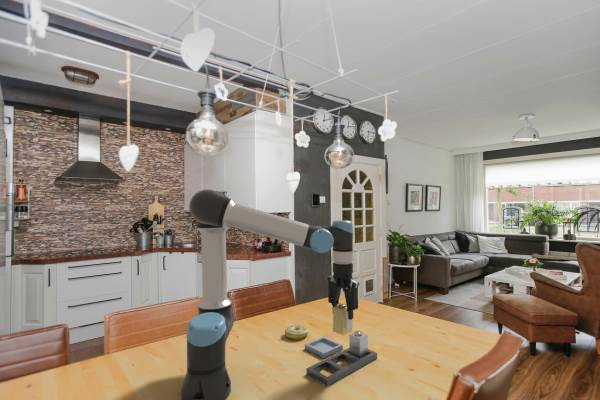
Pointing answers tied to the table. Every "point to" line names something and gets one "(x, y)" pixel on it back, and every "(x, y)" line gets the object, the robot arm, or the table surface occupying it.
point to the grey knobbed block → (358, 344)
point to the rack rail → (339, 366)
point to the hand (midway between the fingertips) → (342, 325)
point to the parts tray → (323, 347)
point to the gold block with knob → (340, 320)
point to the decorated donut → (296, 332)
